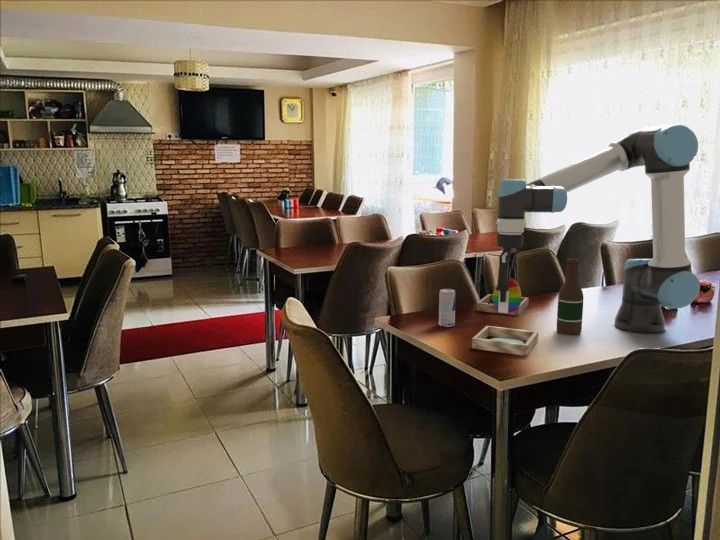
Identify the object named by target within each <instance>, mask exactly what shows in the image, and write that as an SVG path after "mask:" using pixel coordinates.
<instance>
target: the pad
mask: <svg viewBox="0 0 720 540" xmlns="http://www.w3.org/2000/svg"><path fill="white" fill-rule="evenodd" d="M488 340H495V341H503V342H511V343H518V344H525V342H524V341H523V340H517V339H512V338H501V337H493V338H489V339H488Z"/></svg>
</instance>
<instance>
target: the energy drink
mask: <svg viewBox="0 0 720 540" xmlns="http://www.w3.org/2000/svg"><path fill="white" fill-rule="evenodd" d="M438 293H439V294H438V295H439V297H438V299H439V300H438V303H439V304H438V325H439V326H440V327H442V326H444V327H445V328H451V327H452V326H453V327H454V326H455V325H456V290H455V289H452V288H442V289H440V290H439V292H438ZM444 327H443V328H444Z"/></svg>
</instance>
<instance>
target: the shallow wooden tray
mask: <svg viewBox="0 0 720 540" xmlns="http://www.w3.org/2000/svg"><path fill="white" fill-rule="evenodd" d="M489 337H493V338H512V339H517V340H520V341H523V342H524V341H526V342H524V344H518V343H511V342H503V341H495V340H489V339H488V338H489ZM538 342H539V331H537V330H536V331H534V330H527V329H516V328H509V327H500V326H491V325H485V326H484V327H483V328H482V329H481V330H479V332H477V334H476V335H474V336H473V337H472V338H471V349H474V350H475V349H476V350H482V351H489V352H496V353H504V354H509V355H510V354H511V355H518V356H525V357H528V355H529V354H530V353H531V351H532V350H533V349H534V348H535V346H536V345H537V343H538Z"/></svg>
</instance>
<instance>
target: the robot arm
mask: <svg viewBox="0 0 720 540" xmlns="http://www.w3.org/2000/svg"><path fill="white" fill-rule="evenodd" d="M698 140H699V139H698V137H697V136H696V134H695V132H694V131H693V130H692V129H690V128H689V127H688V126H686V125H683V124H673V123H671V124H669V123H668V124H665V125H656V126H646V127H643V128H641V129H638V130H635V131H633V132H632V133H629V134H628V135H625V136H623V137H622V138H619V139H617V140H615V141H613V142H611V143H610V144H609V145H608V147H607V148H605V149H603V150H601V151H598V152H596V153H594V154H592V155H589V156H588V157H585V158H583V159H580V160H578V161H575V162H574V163H572V164H569V165H567V166H565V167H562V168H560V169H558V170H556V171H554V172H551V173H549V174H547V175H545V176H543V177H540V178H537V179H536V180H534V181H533V180H532V181H530V182H529V183H527V181H526V180H525V179H514V178H513V179H511V178H510V179H509V178H507V179H505V178H504V179H501V181H500V182H499V184H498V185H499V186H498V194H497V198H498V199H497V204H498V205H497V220H496V221H495V224H496V225H497V226H496V227H497V228H496V231H497V232H498V233H497V235H496V241H495V242H496V246H497V247H498V248H502V252H501V253H500V254H499V256H498V258H499V261H498V262H499V265H498V275H497V276H498V277H497V284H498V285H497V284H496V285H497V288H496V290H498V291H499V303H498V312H500V313H499V314H501V313H508V303H509V291H508V286H509V279H510V278H512V279H514V280H515V281H516V282H517V284H518V285H519V286H520V284H519V283H520V282H519V278H518V277H519V275H518V273H519V270H518V267H519V248H522V247H523V246H524V234H523V233H524V232H525V213H550V214H551V213H552V214H553V213H561V212H563V211H564V210H565V209H566V207H567V204H568V193H569V192H572V191H574V190H576V189H578V188H580V187H583V186H586V185H588V184H590V183H592V182H595V181H597V180H600V179H601V178H603V177H606V176H608V175H611V174H612V173H614V172H617V171H620V172H624V171H627V170H630V169H632V168H637V167H644V172H645V173H644V174H645V176H647V177H648V178H649V179H650V182H651V183H650V184H651V185H650V186H651V187H650V188H651V190H650V191H651V192H650V193H651V218H652V219H651V220H652V224H651V225H652V256H653V257H652V258H628V259H627V260H626V261H625V262H624V267H623V281H622V282H623V283H622V296H621V304H620V306H619V309H618V311H617V313H616V315H615V317H614V326H615V327H616V328H618V329H620V330H625V331H628V332H632V333H633V332H635V333H643V334H657V333H662V332H664V331H665V328H666V321H665V318H664V314H663V310H662V306H663V307H664V308H665V307H666V308H672V309H682V308H685V307H688V306H689V305H690V304H693V301H695V300H696V299H697V297H698V296H699V293H700V289H701V283H700V279H699V278H698V276H697V275H696V274H695V273H693V272H692V261H691V260H690V259H689V258H687V256H686V235H685V234H686V230H685V229H686V226H685V222H686V221H685V176H686V174H687V173H689V171H690V164H691V162H692V161H693V160H694V158H695V156H697V154H698V150H699V141H698ZM517 248H518V249H517ZM502 285H504V286H502Z"/></svg>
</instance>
